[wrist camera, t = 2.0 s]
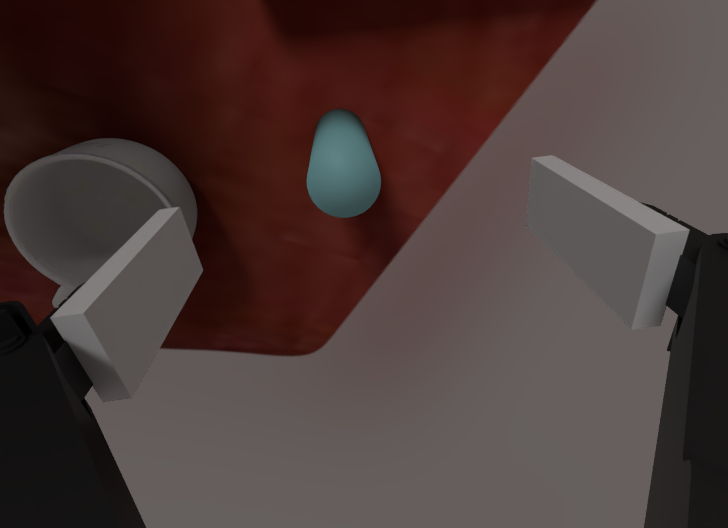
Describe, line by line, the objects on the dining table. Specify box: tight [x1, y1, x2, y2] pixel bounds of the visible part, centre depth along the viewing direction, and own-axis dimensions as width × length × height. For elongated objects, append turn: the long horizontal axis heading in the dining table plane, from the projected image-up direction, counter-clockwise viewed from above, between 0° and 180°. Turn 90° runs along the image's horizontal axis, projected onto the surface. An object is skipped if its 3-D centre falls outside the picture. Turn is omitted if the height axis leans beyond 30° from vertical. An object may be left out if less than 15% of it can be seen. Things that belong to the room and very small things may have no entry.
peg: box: [307, 109, 381, 218], centre depth 27 cm, size 4×4×12 cm
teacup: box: [4, 138, 197, 308], centre depth 31 cm, size 14×11×8 cm
